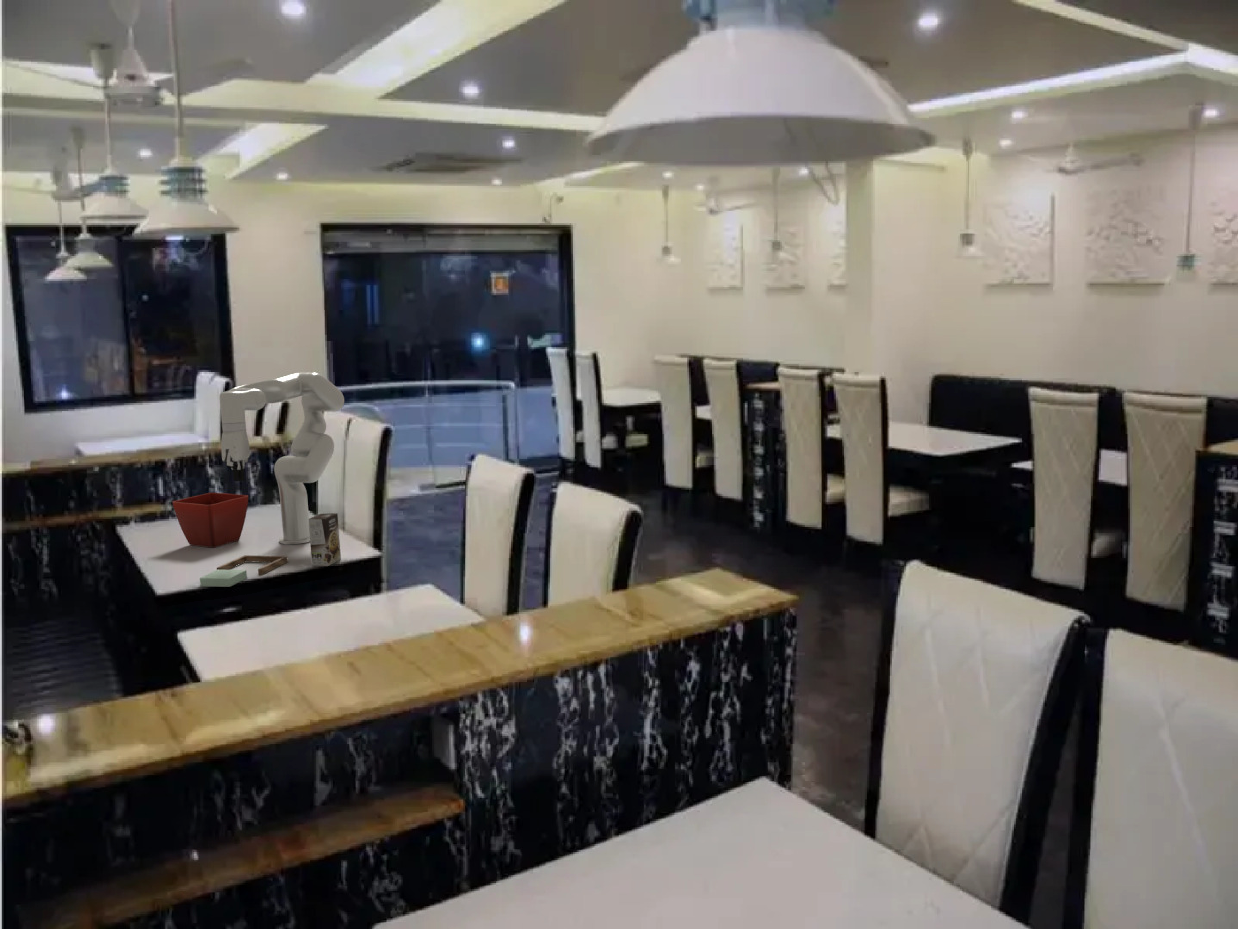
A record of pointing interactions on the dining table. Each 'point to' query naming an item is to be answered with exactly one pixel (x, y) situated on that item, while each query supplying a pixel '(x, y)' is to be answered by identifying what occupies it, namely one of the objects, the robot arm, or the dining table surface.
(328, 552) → the coffee box
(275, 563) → the u-shaped wooden frame
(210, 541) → the plant pot
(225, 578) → the cover plate
